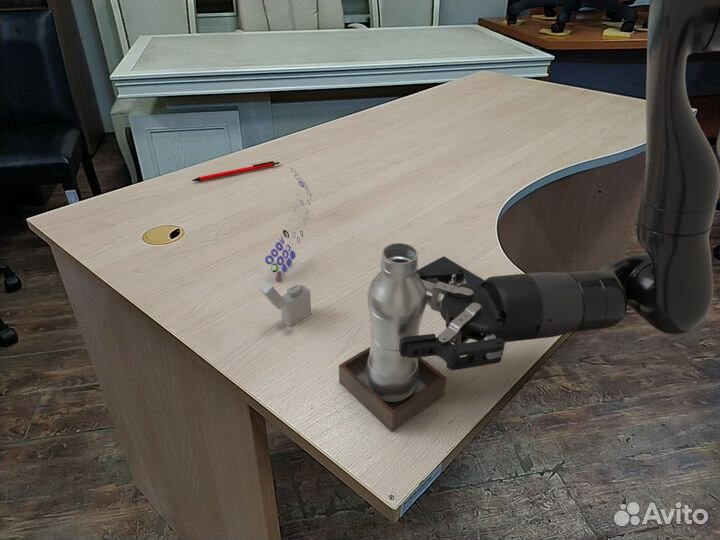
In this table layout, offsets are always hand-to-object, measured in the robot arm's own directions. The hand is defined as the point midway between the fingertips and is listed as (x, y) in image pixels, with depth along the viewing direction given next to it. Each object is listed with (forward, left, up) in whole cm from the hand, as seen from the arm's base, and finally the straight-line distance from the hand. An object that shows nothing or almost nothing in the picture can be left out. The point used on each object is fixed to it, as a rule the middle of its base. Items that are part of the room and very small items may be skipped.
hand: (391, 320), depth 58 cm
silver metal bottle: (0, 0, -11) cm, 11 cm away
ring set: (+35, -10, -11) cm, 38 cm away
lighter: (+18, +3, -11) cm, 21 cm away
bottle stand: (0, 0, -11) cm, 11 cm away
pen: (+64, -15, -11) cm, 67 cm away
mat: (+10, -22, -11) cm, 27 cm away
